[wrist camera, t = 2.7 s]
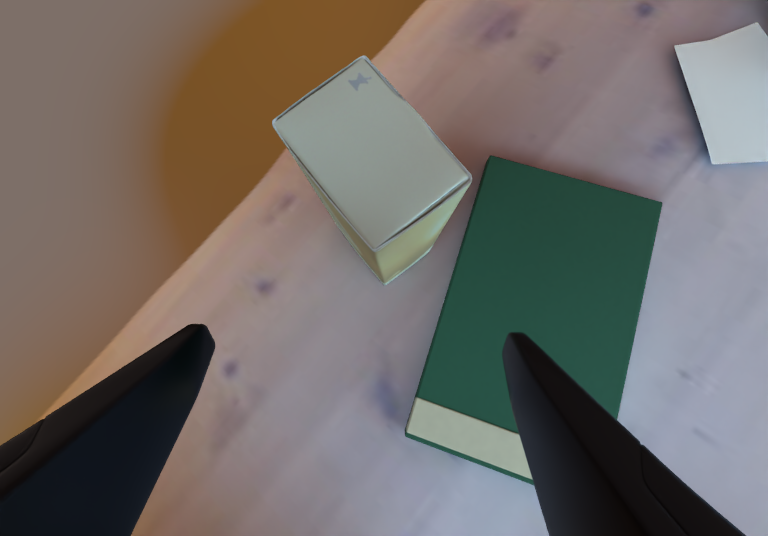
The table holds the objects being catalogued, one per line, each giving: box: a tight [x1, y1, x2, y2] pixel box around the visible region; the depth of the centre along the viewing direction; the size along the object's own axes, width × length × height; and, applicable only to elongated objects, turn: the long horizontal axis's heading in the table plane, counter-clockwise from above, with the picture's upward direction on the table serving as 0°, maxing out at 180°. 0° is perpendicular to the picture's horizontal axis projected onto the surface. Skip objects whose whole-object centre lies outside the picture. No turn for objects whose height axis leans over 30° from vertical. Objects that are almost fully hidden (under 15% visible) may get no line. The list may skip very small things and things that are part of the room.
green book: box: [405, 156, 662, 485], centre depth 20 cm, size 20×12×1 cm, turn 161°
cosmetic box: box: [272, 56, 472, 285], centre depth 16 cm, size 6×4×12 cm
